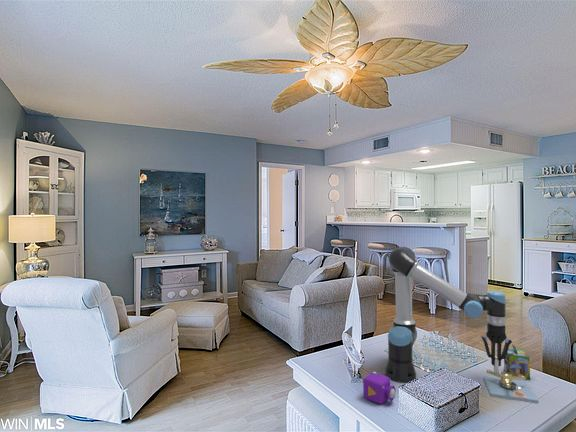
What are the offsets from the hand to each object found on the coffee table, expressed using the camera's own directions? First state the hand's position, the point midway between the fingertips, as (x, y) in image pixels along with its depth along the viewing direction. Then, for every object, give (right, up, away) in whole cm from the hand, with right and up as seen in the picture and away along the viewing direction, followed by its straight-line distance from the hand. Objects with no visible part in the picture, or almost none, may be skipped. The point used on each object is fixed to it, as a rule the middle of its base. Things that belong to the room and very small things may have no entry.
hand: (496, 372), depth 164 cm
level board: (+2, -5, -7) cm, 9 cm away
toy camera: (-60, -6, -13) cm, 62 cm away
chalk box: (+16, -5, +8) cm, 18 cm away
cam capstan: (0, -4, -6) cm, 7 cm away
